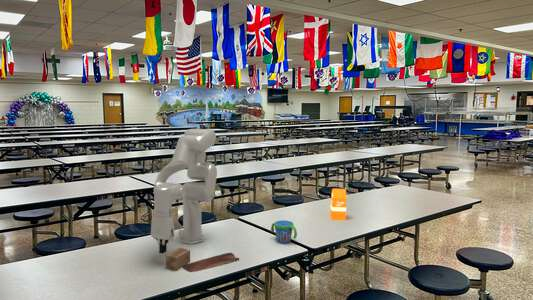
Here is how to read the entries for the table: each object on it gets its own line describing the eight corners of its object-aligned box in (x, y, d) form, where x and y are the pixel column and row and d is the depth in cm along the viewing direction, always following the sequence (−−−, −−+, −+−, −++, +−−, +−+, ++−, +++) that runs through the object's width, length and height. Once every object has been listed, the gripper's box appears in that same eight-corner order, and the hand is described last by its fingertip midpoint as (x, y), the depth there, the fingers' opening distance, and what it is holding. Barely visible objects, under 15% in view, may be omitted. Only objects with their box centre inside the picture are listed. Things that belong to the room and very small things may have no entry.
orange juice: (345, 220, 233) (347, 190, 231) (331, 220, 234) (333, 189, 231) (343, 216, 241) (344, 187, 239) (330, 216, 241) (331, 187, 239)
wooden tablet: (188, 271, 155) (179, 260, 163) (187, 276, 156) (179, 265, 164) (241, 258, 170) (231, 249, 178) (241, 262, 170) (230, 253, 178)
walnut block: (165, 268, 160) (165, 255, 160) (179, 259, 169) (179, 247, 169) (176, 271, 158) (176, 258, 157) (190, 262, 167) (190, 249, 166)
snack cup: (266, 239, 197) (266, 221, 195) (278, 235, 204) (279, 217, 203) (288, 248, 186) (288, 229, 185) (300, 242, 194) (301, 224, 192)
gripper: (144, 213, 163) (144, 252, 165) (171, 217, 157) (171, 258, 159) (155, 209, 170) (155, 246, 172) (181, 213, 164) (181, 252, 166)
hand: (162, 252), depth 166 cm, fingers closed
